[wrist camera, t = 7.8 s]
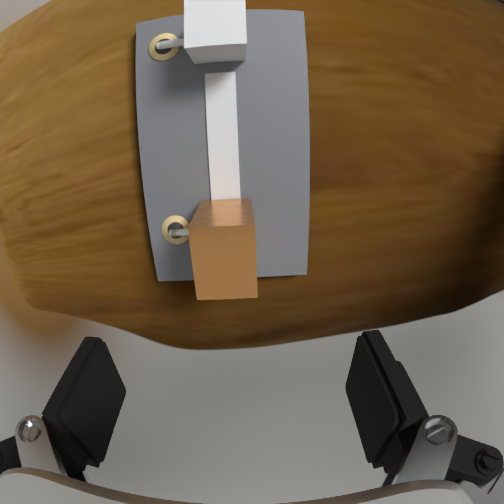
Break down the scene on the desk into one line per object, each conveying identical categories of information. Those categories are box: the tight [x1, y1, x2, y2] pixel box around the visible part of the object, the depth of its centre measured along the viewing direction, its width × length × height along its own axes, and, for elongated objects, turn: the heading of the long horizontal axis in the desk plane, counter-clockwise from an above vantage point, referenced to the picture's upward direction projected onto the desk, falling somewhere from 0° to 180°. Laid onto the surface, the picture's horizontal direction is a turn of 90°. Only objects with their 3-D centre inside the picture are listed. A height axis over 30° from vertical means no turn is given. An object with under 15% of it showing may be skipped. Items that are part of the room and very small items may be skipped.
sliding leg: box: [168, 198, 258, 300], centre depth 21 cm, size 7×5×7 cm
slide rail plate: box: [136, 0, 310, 281], centre depth 21 cm, size 14×24×6 cm, turn 2°
